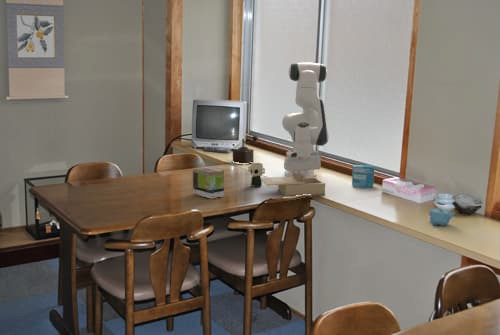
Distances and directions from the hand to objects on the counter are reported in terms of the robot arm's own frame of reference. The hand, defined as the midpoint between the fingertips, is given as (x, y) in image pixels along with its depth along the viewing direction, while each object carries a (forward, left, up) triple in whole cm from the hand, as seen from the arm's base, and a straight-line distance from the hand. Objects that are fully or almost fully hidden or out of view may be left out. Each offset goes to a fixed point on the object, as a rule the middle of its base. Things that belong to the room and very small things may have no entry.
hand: (302, 177), depth 352 cm
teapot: (+71, +46, -9) cm, 85 cm away
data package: (-8, +39, -9) cm, 40 cm away
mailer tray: (0, 0, -8) cm, 8 cm away
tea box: (-2, -51, -9) cm, 52 cm away
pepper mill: (-88, -13, -9) cm, 90 cm away
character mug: (-19, -21, -9) cm, 30 cm away
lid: (0, -11, -2) cm, 12 cm away
